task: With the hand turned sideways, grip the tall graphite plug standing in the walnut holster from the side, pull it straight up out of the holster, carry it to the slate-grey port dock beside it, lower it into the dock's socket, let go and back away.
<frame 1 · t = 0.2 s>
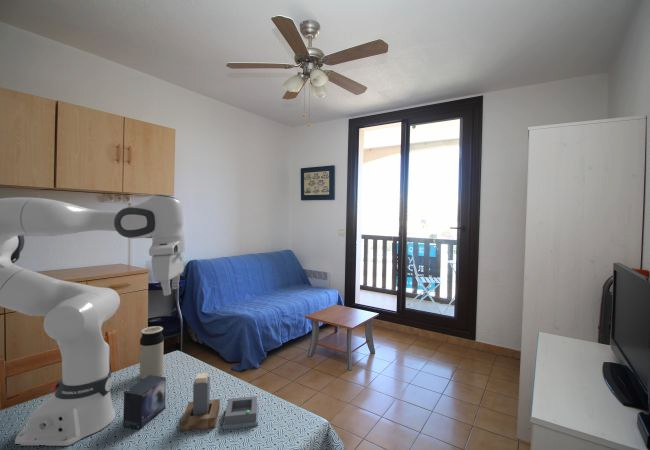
hand: (171, 291, 95), 39 cm above the table, tool pointing down, fingers open, 8 cm apart
dock: (241, 416, 95), on the table
travel mug: (151, 375, 119), on the table
small box: (145, 418, 94), on the table
plug: (201, 397, 94), in the holster
holster: (201, 419, 94), on the table
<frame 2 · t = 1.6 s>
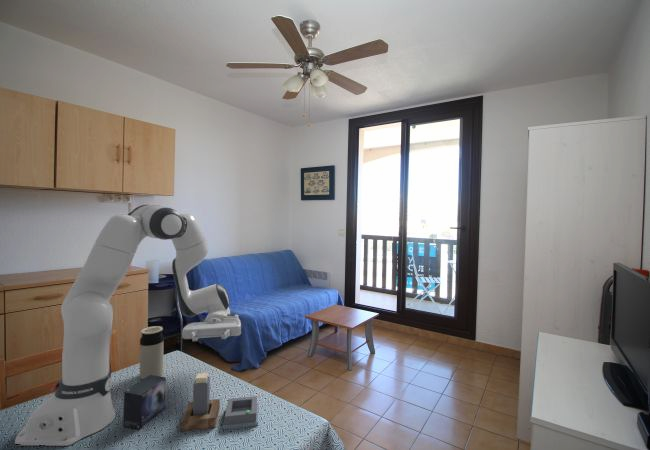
hand: (209, 338, 105), 20 cm above the table, tool horizontal, fingers open, 8 cm apart
nothing on the table moved.
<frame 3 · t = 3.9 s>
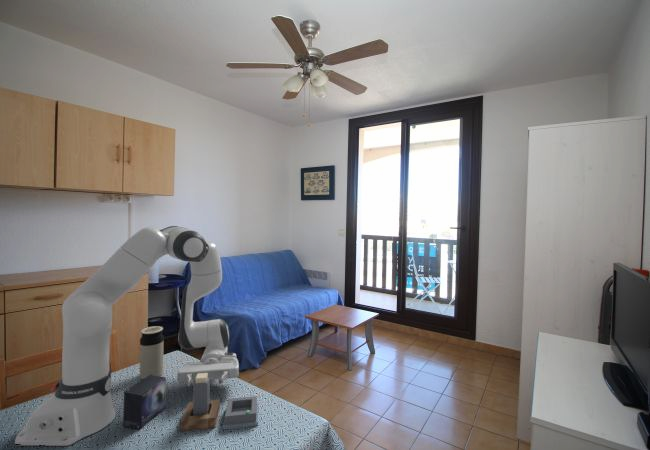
hand: (205, 382, 101), 7 cm above the table, tool horizontal, fingers open, 8 cm apart
nothing on the table moved.
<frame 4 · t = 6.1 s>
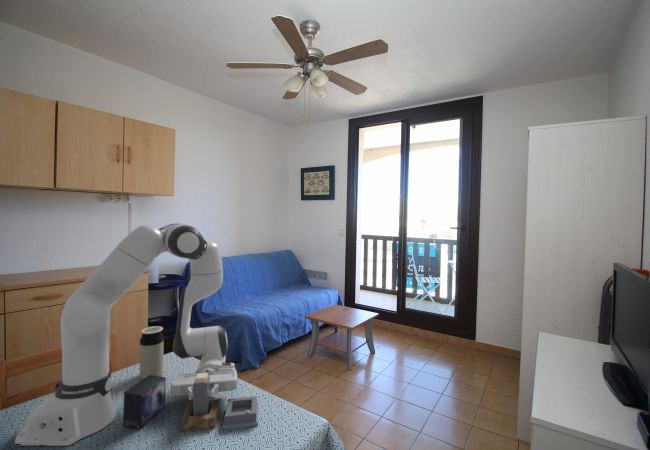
hand: (201, 396, 93), 8 cm above the table, tool horizontal, fingers closed on plug, 4 cm apart
plug: (201, 397, 94), in the holster, touching gripper
everything else where it was.
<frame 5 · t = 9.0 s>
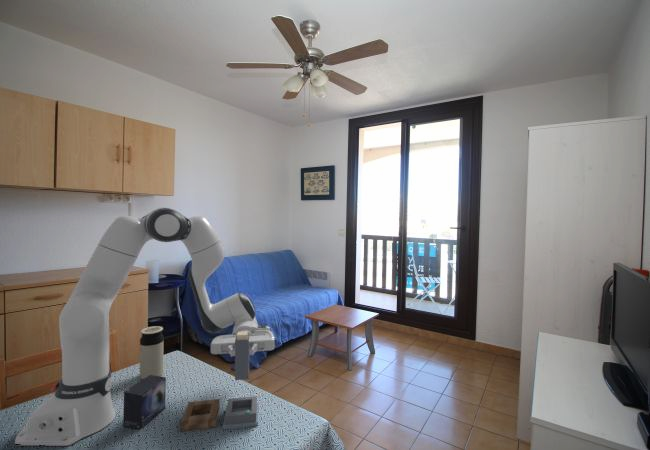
hand: (242, 353, 94), 20 cm above the table, tool horizontal, fingers closed on plug, 4 cm apart
plug: (242, 354, 95), point 19 cm above the table, touching gripper
everything else where it was.
when the fingers open (9 cm above the table, at t = 12.3 s): plug stays where it is, resting on dock.
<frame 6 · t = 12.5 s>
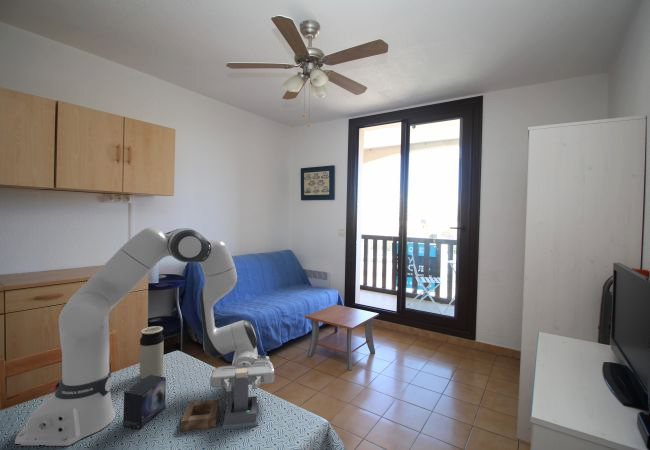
hand: (241, 388, 94), 9 cm above the table, tool horizontal, fingers open, 6 cm apart
plug: (241, 392, 95), in the dock, point 8 cm above the table
everything else where it was.
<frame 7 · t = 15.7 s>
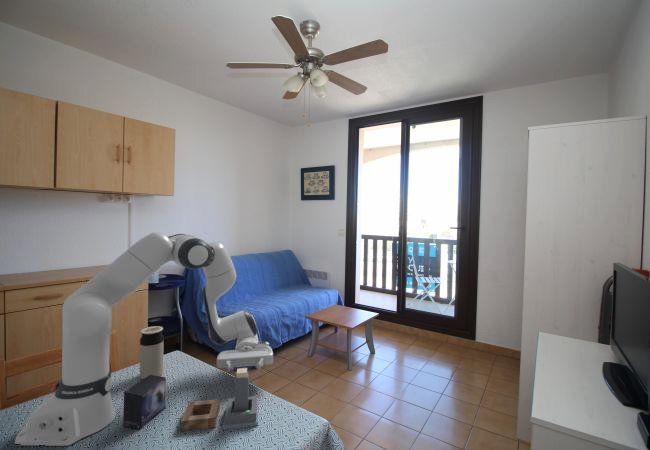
hand: (244, 368, 107), 10 cm above the table, tool horizontal, fingers open, 8 cm apart
nothing on the table moved.
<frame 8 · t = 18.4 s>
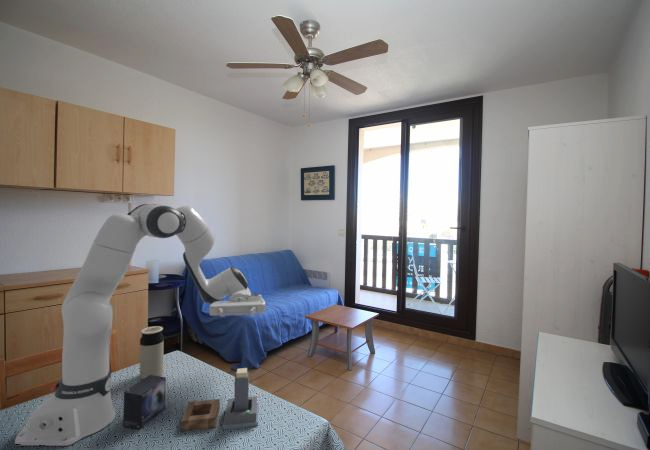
hand: (236, 313, 108), 28 cm above the table, tool horizontal, fingers open, 8 cm apart
nothing on the table moved.
at the end: plug 0.1 cm off-centre on the dock, point 7.7 cm above the dock's base; plug tilted 0°; the gripper is holding nothing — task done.
